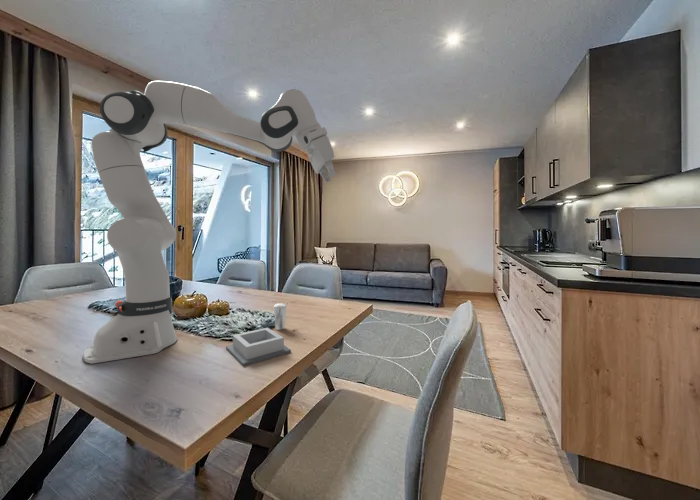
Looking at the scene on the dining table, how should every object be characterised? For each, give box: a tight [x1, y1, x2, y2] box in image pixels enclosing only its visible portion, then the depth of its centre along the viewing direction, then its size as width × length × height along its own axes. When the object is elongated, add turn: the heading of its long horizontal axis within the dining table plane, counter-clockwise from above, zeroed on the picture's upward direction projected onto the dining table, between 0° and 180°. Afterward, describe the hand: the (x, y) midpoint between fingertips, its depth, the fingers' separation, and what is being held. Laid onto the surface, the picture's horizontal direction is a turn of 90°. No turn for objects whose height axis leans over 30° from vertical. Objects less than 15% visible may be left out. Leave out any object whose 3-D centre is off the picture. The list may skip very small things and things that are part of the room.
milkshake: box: [273, 302, 289, 331], centre depth 106 cm, size 5×5×10 cm
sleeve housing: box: [225, 327, 292, 367], centre depth 87 cm, size 14×14×4 cm
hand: (330, 179), depth 99 cm, fingers open, 8 cm apart
